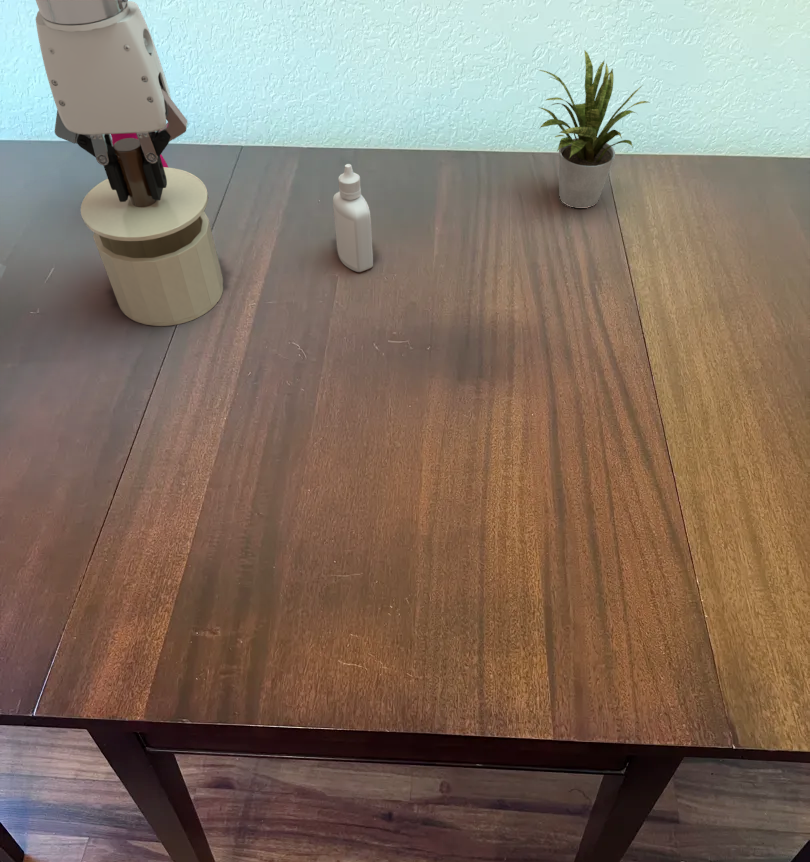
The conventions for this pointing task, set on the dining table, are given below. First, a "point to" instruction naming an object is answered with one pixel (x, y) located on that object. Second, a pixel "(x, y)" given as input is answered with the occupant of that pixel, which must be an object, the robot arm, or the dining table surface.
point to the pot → (164, 274)
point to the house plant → (587, 140)
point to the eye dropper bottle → (352, 223)
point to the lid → (143, 201)
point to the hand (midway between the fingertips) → (141, 192)
